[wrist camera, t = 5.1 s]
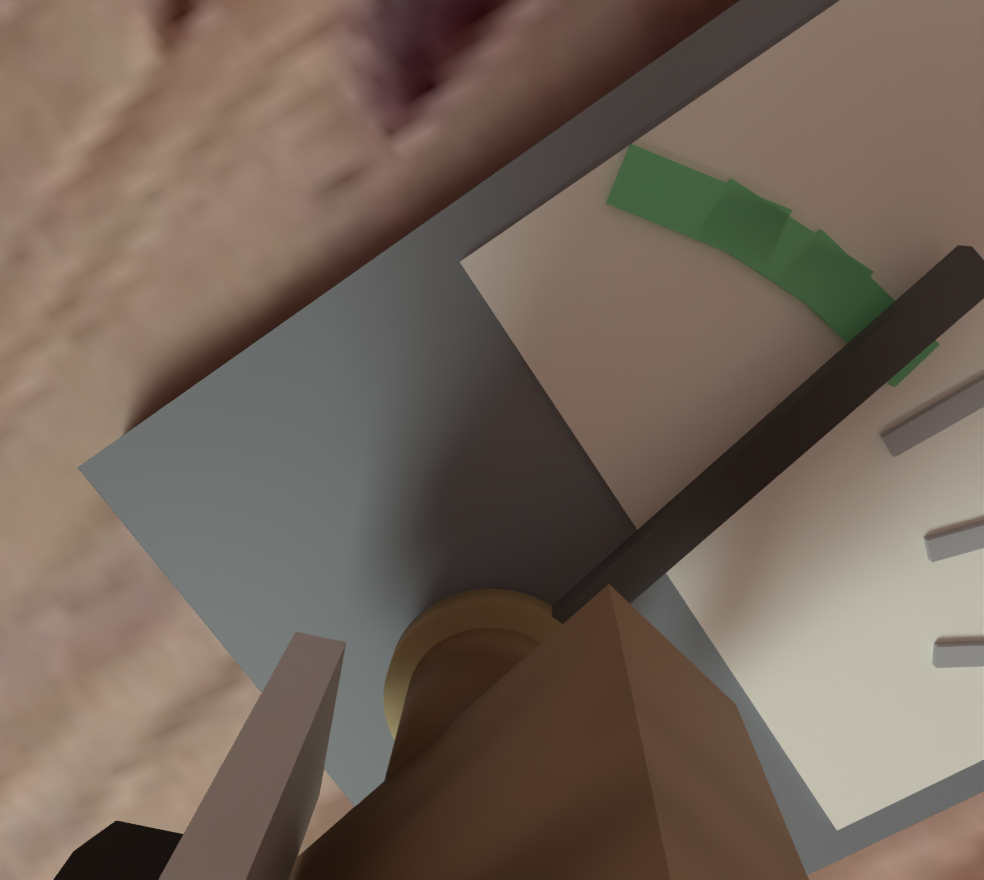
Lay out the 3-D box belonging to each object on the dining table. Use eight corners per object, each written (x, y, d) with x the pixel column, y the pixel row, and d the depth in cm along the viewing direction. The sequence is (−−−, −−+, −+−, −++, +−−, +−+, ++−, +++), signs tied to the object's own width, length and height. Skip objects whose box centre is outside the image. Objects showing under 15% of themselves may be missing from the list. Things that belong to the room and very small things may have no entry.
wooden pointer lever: (429, 862, 15) (259, 1961, 6) (284, 740, 15) (-178, 1728, 5) (1047, 348, 12) (2870, 837, 3) (893, 172, 12) (2512, -1, 2)
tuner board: (119, 444, 16) (66, 473, 14) (1078, -232, 12) (1172, -307, 10) (522, 948, 19) (521, 1026, 17) (1399, 516, 15) (1517, 557, 13)
